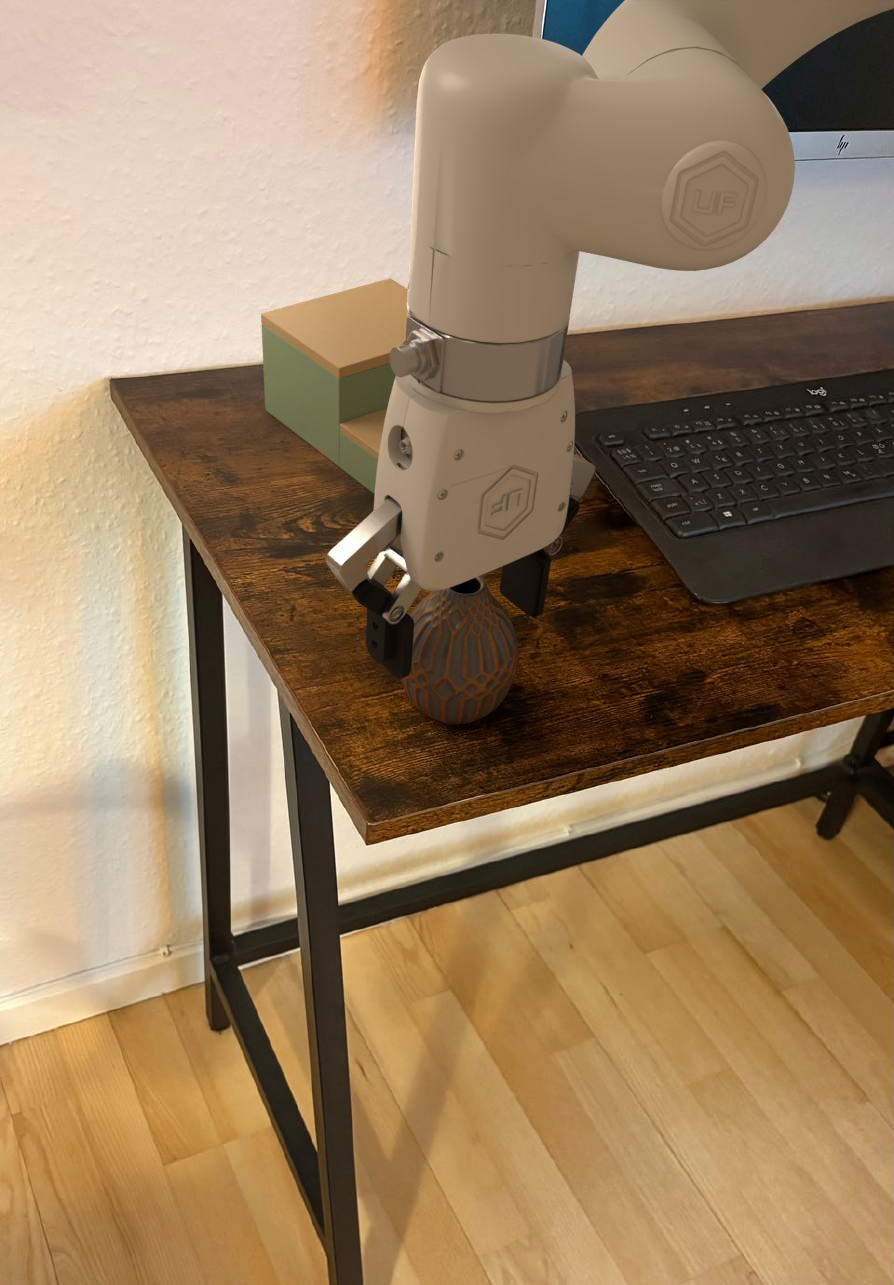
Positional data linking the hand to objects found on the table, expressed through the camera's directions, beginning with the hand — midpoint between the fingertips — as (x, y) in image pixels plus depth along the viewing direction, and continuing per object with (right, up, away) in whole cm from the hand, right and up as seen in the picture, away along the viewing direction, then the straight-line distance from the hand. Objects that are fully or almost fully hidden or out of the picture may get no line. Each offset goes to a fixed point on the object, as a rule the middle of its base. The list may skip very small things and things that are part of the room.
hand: (456, 633), depth 70 cm
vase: (0, -4, +4) cm, 5 cm away
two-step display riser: (-4, +18, +24) cm, 30 cm away
